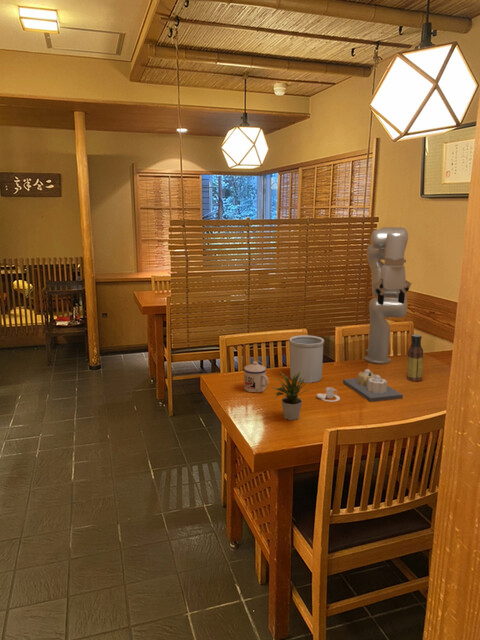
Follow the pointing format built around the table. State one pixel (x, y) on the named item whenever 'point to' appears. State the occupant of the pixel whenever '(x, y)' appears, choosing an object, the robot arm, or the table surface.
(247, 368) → the teacup with lid
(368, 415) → the table surface
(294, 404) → the house plant
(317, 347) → the utensil holder
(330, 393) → the teacup and saucer
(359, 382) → the gear board
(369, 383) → the gear
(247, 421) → the table surface
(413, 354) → the sauce bottle
